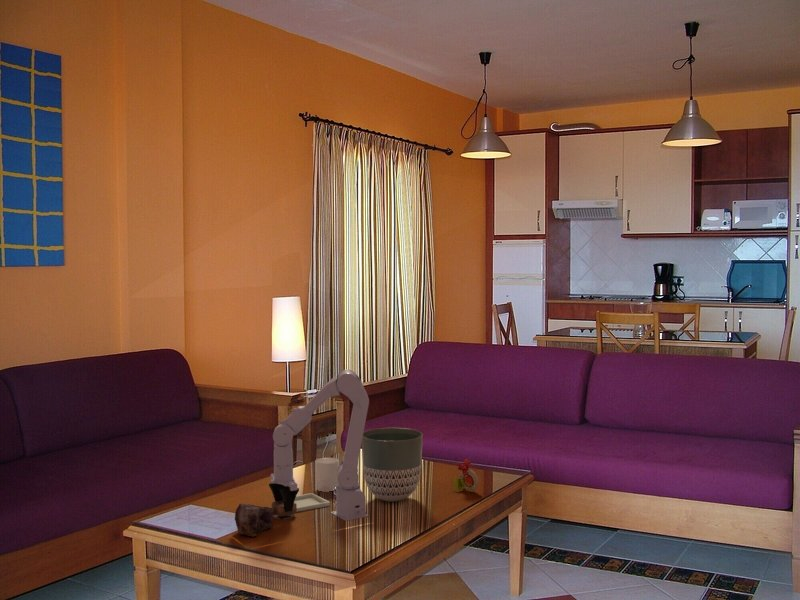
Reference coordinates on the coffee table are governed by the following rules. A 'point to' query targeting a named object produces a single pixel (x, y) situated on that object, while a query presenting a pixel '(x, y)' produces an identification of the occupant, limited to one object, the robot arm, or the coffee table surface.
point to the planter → (392, 462)
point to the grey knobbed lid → (283, 516)
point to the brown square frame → (282, 509)
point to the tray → (310, 502)
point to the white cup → (326, 473)
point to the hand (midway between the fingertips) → (284, 508)
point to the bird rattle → (467, 482)
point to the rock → (253, 519)
